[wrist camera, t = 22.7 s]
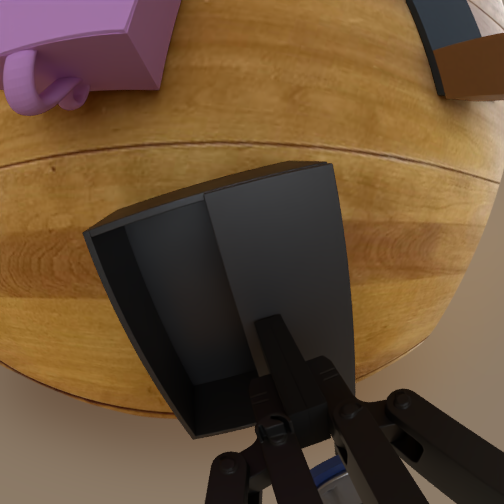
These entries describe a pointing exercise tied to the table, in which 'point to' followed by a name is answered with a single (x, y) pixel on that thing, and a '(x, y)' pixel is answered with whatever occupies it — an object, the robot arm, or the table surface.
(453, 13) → the mat
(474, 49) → the parcel
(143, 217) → the carton
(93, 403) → the table surface
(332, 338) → the flap
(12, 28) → the teapot
